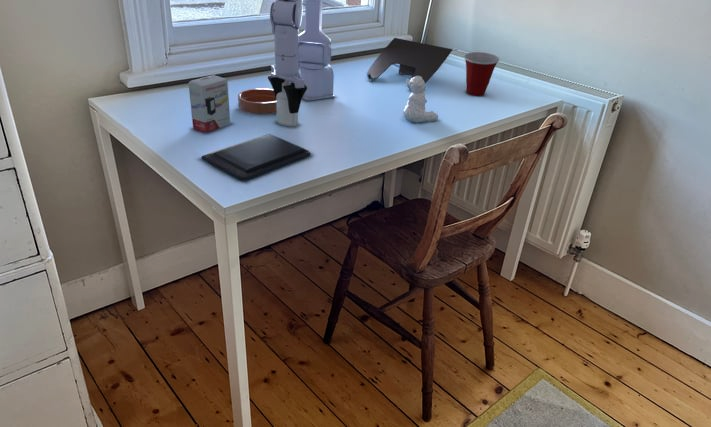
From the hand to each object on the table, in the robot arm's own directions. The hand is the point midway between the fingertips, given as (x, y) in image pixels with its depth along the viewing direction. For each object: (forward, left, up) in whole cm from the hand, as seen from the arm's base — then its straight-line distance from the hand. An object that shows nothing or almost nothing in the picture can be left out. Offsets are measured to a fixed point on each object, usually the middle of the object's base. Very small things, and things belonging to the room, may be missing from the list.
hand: (287, 108), depth 130 cm
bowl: (+1, -14, -4) cm, 15 cm away
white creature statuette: (-34, +11, -4) cm, 36 cm away
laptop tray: (-54, -21, -4) cm, 58 cm away
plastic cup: (-67, 0, -4) cm, 67 cm away
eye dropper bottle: (0, 0, -4) cm, 5 cm away
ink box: (+18, -6, -4) cm, 20 cm away
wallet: (+15, +16, -4) cm, 22 cm away
